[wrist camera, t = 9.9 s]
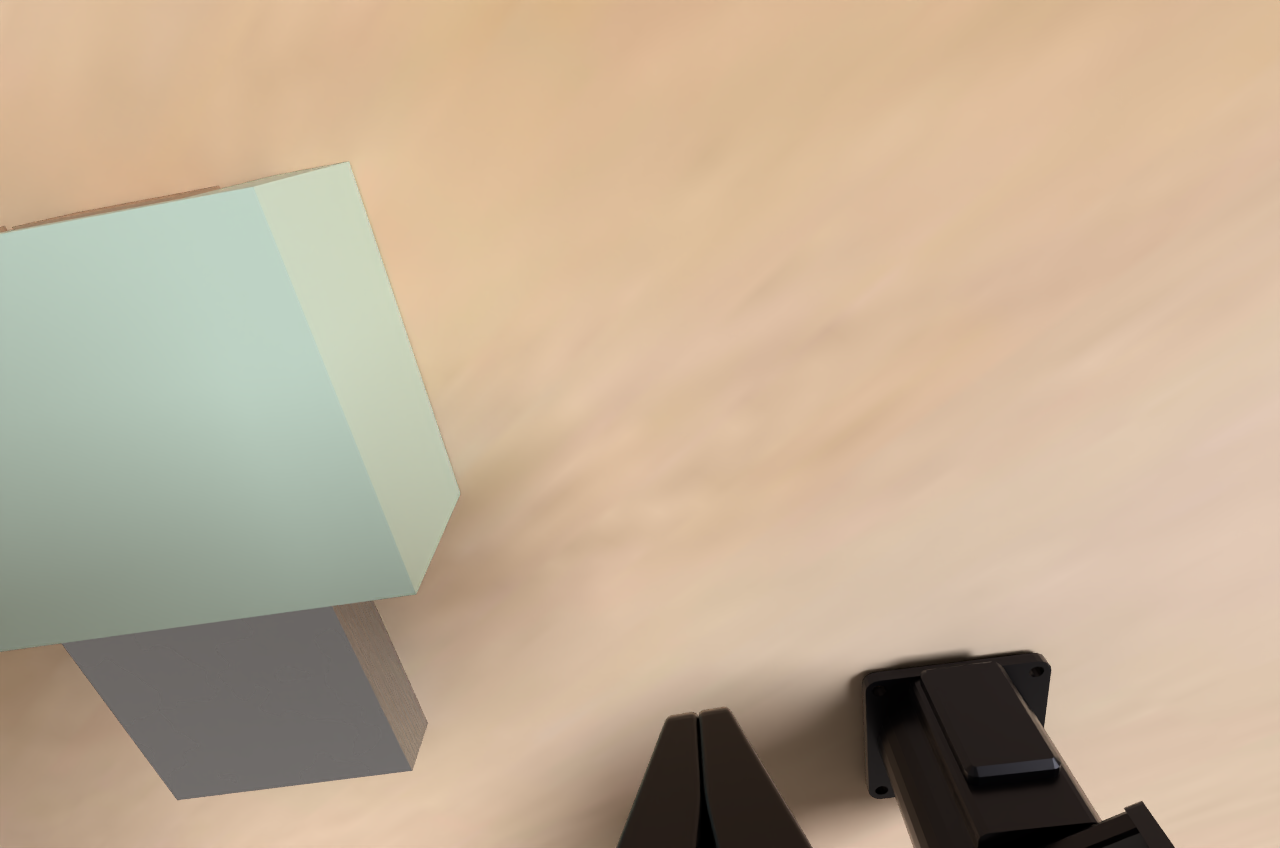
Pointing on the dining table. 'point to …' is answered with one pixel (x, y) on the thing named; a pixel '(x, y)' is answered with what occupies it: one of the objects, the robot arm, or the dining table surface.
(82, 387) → the pale mint green box
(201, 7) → the dining table surface
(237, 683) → the grey flat block
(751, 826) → the robot arm
